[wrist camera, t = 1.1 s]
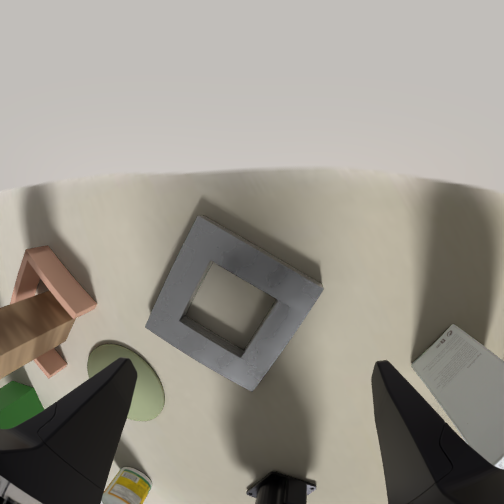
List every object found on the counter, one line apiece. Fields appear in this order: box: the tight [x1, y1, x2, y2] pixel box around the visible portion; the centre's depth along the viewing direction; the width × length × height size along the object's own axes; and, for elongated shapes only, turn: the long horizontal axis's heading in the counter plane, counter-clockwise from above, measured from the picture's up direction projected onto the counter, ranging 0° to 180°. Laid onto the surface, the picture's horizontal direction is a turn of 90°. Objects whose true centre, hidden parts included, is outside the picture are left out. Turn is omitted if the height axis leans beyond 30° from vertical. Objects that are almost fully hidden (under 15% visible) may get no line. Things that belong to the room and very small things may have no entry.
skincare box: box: [411, 324, 504, 469], centre depth 14 cm, size 8×6×15 cm
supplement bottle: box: [102, 467, 152, 504], centre depth 25 cm, size 5×5×10 cm
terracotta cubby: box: [10, 246, 97, 378], centre depth 26 cm, size 9×12×4 cm
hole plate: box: [145, 215, 324, 392], centre depth 23 cm, size 11×11×2 cm
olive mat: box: [87, 344, 165, 421], centre depth 27 cm, size 10×10×1 cm
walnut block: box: [0, 291, 76, 379], centre depth 21 cm, size 4×4×13 cm
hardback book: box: [0, 381, 44, 429], centre depth 21 cm, size 18×7×24 cm, turn 9°
